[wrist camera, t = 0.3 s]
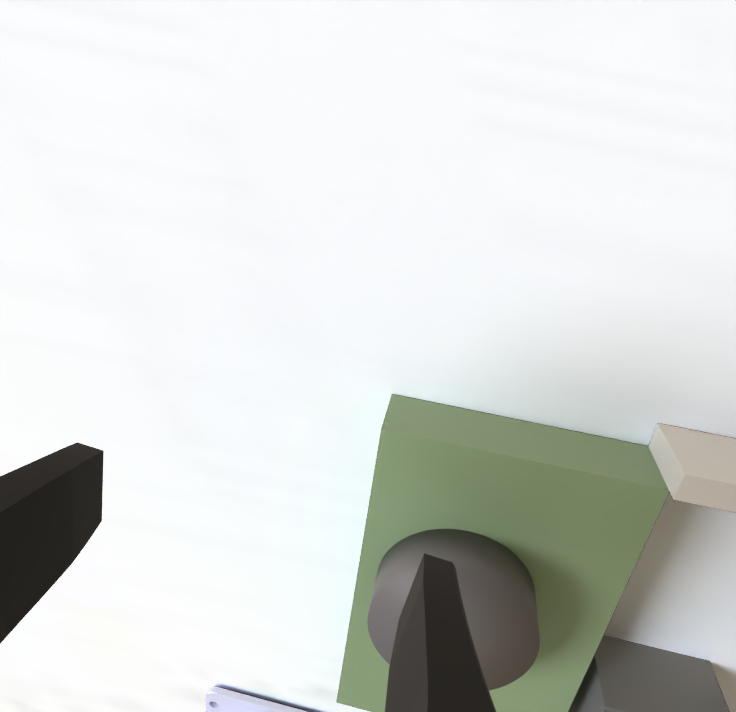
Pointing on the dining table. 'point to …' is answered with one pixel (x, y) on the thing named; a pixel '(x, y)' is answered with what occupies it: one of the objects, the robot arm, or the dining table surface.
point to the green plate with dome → (516, 539)
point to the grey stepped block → (646, 681)
